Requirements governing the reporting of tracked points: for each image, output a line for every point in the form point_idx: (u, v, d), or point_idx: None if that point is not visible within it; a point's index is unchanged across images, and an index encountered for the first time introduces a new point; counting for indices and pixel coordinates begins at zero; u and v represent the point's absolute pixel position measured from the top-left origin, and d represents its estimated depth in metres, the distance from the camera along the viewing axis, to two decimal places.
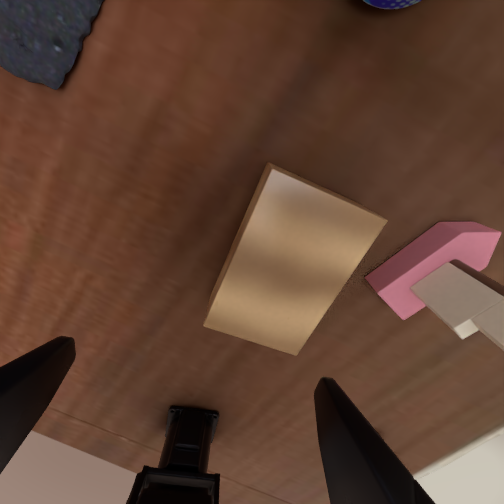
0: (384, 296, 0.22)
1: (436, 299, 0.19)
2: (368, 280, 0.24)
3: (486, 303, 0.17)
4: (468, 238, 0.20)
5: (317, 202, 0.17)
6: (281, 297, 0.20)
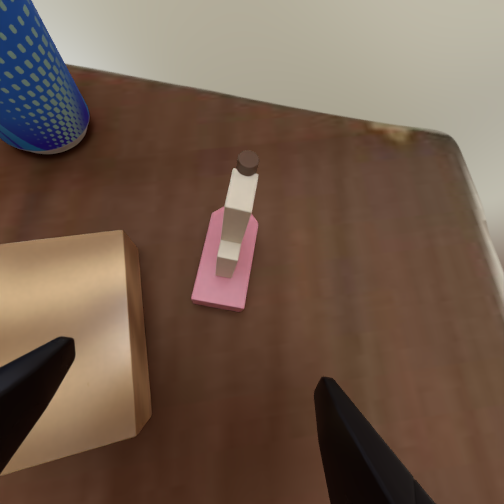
0: (201, 297, 0.20)
1: None
2: (192, 301, 0.22)
3: None
4: (220, 214, 0.23)
5: (45, 248, 0.18)
6: None
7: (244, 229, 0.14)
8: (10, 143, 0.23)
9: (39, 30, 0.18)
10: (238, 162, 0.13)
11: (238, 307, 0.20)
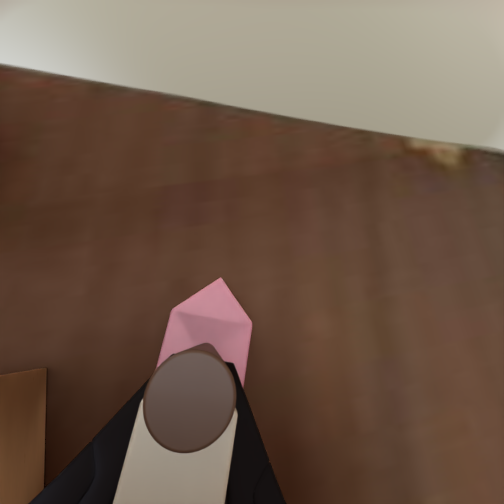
0: None
1: None
2: None
3: None
4: (187, 310, 0.13)
5: None
6: None
7: None
8: None
9: None
10: (146, 416, 0.03)
11: None
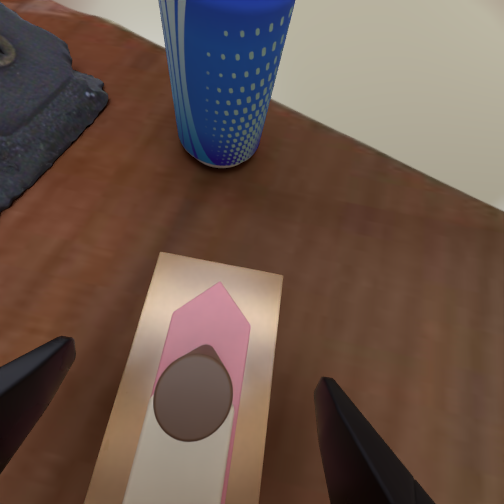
0: None
1: None
2: None
3: None
4: (187, 313, 0.14)
5: (210, 272, 0.18)
6: None
7: None
8: (189, 150, 0.24)
9: (277, 68, 0.19)
10: (156, 411, 0.03)
11: None
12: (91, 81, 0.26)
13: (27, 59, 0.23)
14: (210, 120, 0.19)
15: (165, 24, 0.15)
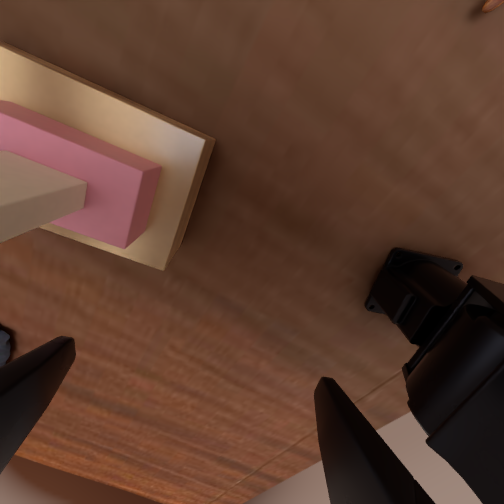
0: (122, 235, 0.13)
1: None
2: None
3: None
4: None
5: None
6: None
7: None
8: None
9: None
10: None
11: (140, 180, 0.12)
12: None
13: None
14: None
15: None
